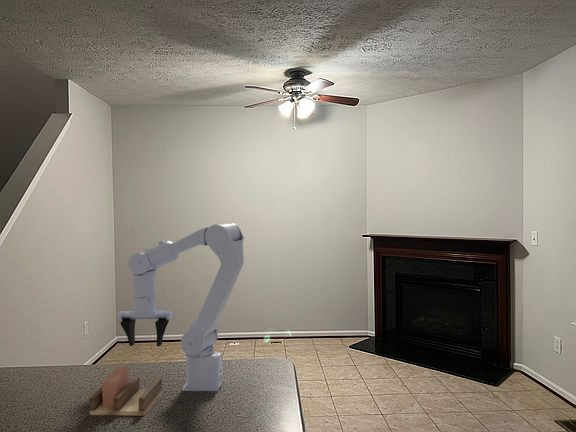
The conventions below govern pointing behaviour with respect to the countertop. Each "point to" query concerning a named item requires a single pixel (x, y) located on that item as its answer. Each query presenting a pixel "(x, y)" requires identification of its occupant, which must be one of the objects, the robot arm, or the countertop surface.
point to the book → (114, 385)
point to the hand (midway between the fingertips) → (145, 345)
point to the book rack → (128, 399)
